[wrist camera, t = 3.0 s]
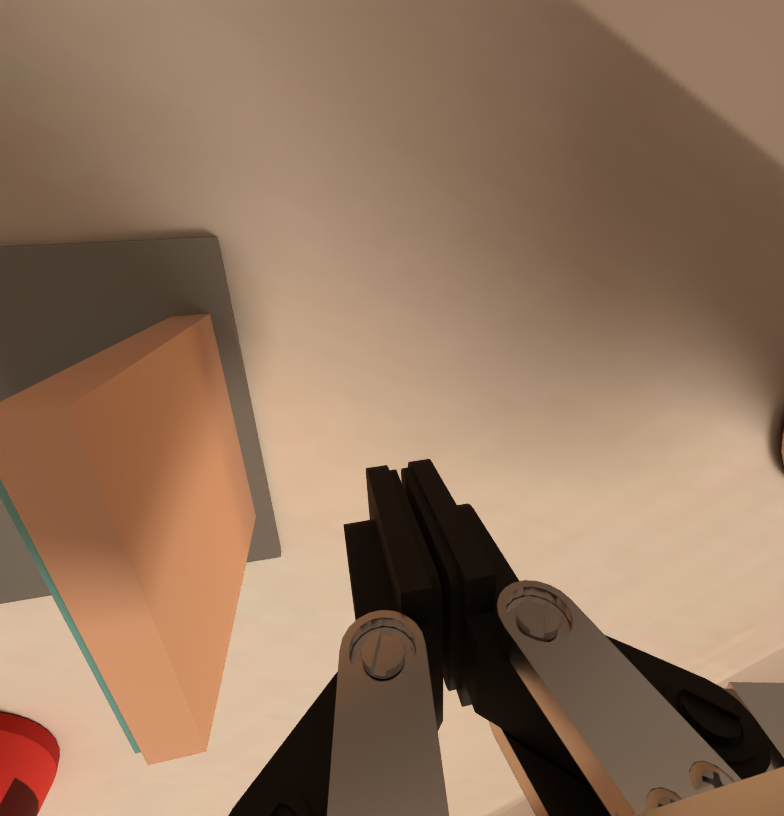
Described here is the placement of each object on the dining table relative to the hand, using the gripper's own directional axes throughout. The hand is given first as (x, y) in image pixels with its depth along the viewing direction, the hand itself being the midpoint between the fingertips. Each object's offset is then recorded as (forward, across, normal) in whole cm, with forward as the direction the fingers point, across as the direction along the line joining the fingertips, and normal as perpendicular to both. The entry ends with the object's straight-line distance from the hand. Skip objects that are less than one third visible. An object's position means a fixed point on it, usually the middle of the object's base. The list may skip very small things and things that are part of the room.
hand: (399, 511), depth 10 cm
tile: (+7, +6, 0) cm, 9 cm away
